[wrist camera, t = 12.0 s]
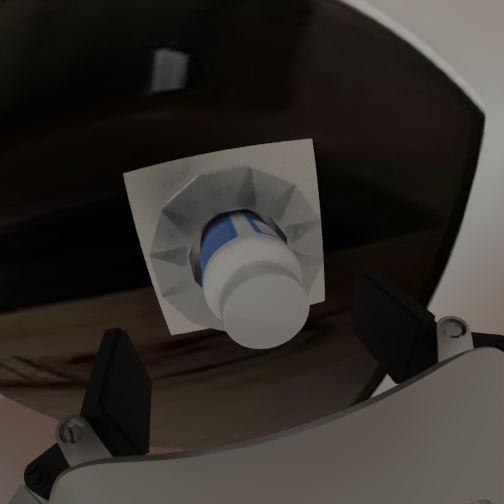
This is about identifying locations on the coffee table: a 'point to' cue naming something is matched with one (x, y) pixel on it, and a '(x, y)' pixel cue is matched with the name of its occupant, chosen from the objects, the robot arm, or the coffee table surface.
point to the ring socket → (215, 203)
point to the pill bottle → (252, 280)
